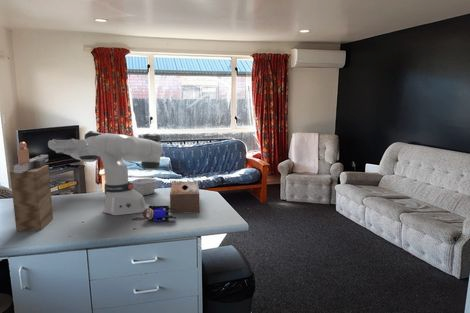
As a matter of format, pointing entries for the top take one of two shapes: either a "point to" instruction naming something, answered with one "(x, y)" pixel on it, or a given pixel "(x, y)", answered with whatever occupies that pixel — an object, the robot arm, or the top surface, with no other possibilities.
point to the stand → (32, 197)
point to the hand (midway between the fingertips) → (63, 140)
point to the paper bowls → (145, 185)
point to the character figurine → (158, 213)
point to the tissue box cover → (184, 197)
